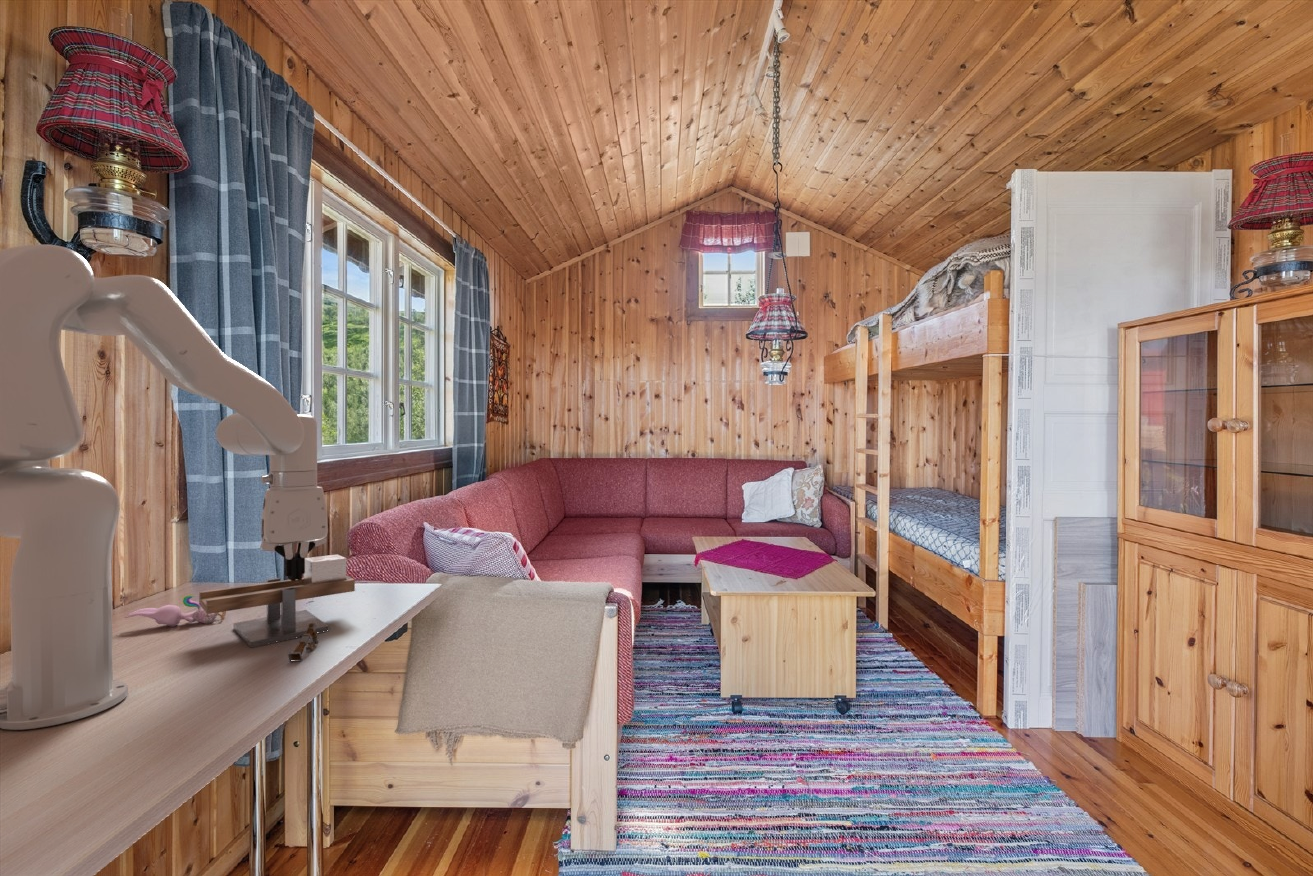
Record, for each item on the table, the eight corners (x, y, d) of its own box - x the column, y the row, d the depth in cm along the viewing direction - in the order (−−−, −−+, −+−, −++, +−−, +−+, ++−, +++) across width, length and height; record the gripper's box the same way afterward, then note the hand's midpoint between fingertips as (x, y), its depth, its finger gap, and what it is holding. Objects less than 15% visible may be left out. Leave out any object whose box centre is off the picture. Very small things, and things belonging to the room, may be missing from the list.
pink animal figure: (225, 622, 120) (130, 620, 114) (231, 592, 121) (136, 589, 114) (219, 632, 115) (118, 630, 108) (225, 600, 115) (124, 597, 108)
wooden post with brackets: (324, 638, 105) (319, 617, 103) (305, 674, 97) (299, 652, 95) (313, 638, 104) (308, 618, 102) (293, 674, 97) (287, 653, 95)
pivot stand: (250, 648, 102) (250, 597, 102) (233, 628, 112) (233, 582, 112) (328, 631, 111) (328, 584, 110) (306, 614, 121) (305, 572, 120)
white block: (311, 589, 113) (312, 562, 113) (303, 584, 116) (303, 558, 116) (346, 584, 117) (346, 558, 117) (337, 579, 121) (337, 554, 121)
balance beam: (207, 614, 100) (207, 600, 100) (199, 604, 106) (199, 591, 106) (354, 591, 116) (354, 579, 116) (340, 583, 122) (340, 572, 122)
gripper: (251, 484, 105) (252, 590, 105) (344, 479, 115) (344, 575, 116) (241, 481, 110) (242, 582, 110) (331, 477, 121) (331, 569, 121)
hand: (294, 578), depth 113 cm, fingers closed
